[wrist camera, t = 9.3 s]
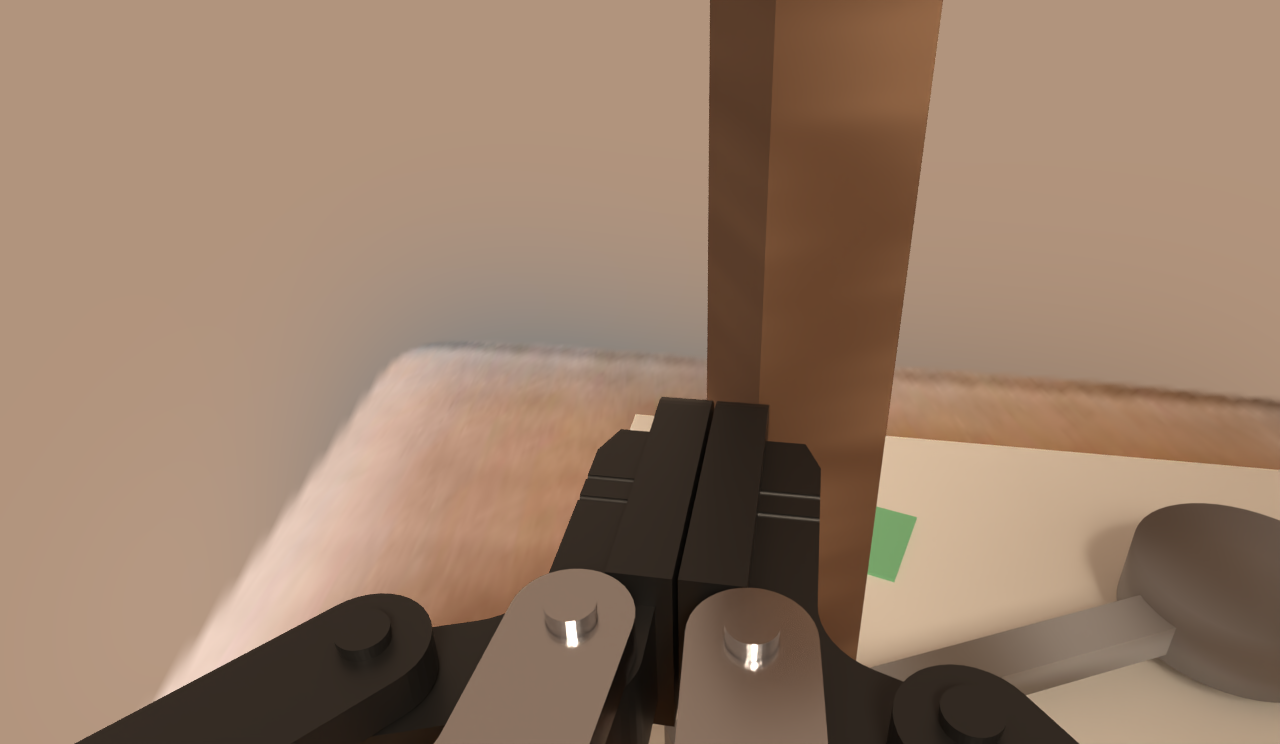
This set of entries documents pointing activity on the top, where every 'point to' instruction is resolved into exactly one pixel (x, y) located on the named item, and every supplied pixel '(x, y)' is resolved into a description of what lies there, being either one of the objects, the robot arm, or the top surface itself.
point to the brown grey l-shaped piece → (868, 338)
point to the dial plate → (1041, 571)
